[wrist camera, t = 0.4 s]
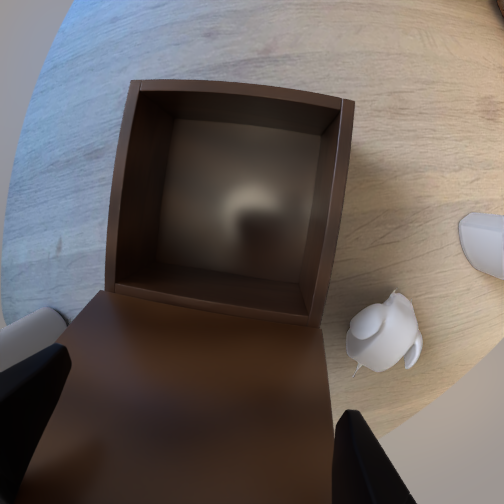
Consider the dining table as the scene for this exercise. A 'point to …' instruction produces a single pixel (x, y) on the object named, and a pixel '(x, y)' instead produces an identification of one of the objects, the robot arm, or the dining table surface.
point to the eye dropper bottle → (484, 242)
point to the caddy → (228, 198)
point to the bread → (501, 6)
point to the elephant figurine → (385, 335)
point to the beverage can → (29, 336)
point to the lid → (185, 411)
